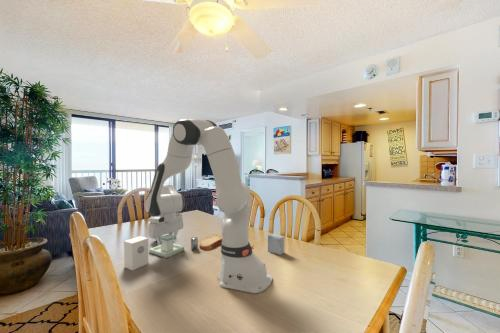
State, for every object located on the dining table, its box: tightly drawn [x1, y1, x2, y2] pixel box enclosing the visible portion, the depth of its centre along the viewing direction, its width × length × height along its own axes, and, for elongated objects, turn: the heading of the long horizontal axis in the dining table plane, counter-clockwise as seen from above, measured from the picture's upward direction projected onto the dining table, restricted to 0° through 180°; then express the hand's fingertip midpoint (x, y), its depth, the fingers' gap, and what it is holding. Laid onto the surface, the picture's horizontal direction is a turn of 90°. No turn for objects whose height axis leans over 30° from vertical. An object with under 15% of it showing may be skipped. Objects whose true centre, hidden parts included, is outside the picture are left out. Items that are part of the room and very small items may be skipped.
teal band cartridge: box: [161, 234, 174, 252], centre depth 124 cm, size 5×4×8 cm
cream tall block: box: [123, 235, 150, 271], centre depth 108 cm, size 7×8×12 cm
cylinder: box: [190, 236, 199, 251], centre depth 127 cm, size 4×4×6 cm
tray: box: [148, 243, 185, 259], centre depth 124 cm, size 13×12×2 cm
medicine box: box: [267, 233, 285, 256], centre depth 123 cm, size 8×4×9 cm, turn 47°
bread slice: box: [198, 233, 222, 251], centre depth 136 cm, size 18×18×4 cm
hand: (167, 241), depth 124 cm, fingers open, 8 cm apart
